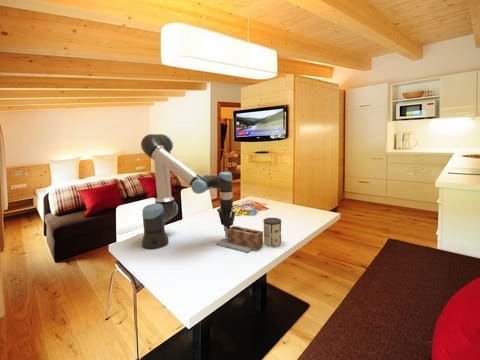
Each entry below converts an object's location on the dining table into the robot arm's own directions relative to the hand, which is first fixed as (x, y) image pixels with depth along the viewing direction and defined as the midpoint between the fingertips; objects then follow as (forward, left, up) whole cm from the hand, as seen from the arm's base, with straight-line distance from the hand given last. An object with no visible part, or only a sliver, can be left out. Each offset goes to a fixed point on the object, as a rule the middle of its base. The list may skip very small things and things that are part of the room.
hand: (227, 236), depth 162 cm
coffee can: (+25, +11, -3) cm, 27 cm away
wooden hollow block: (+13, 0, -2) cm, 13 cm away
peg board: (+9, 0, -3) cm, 9 cm away
